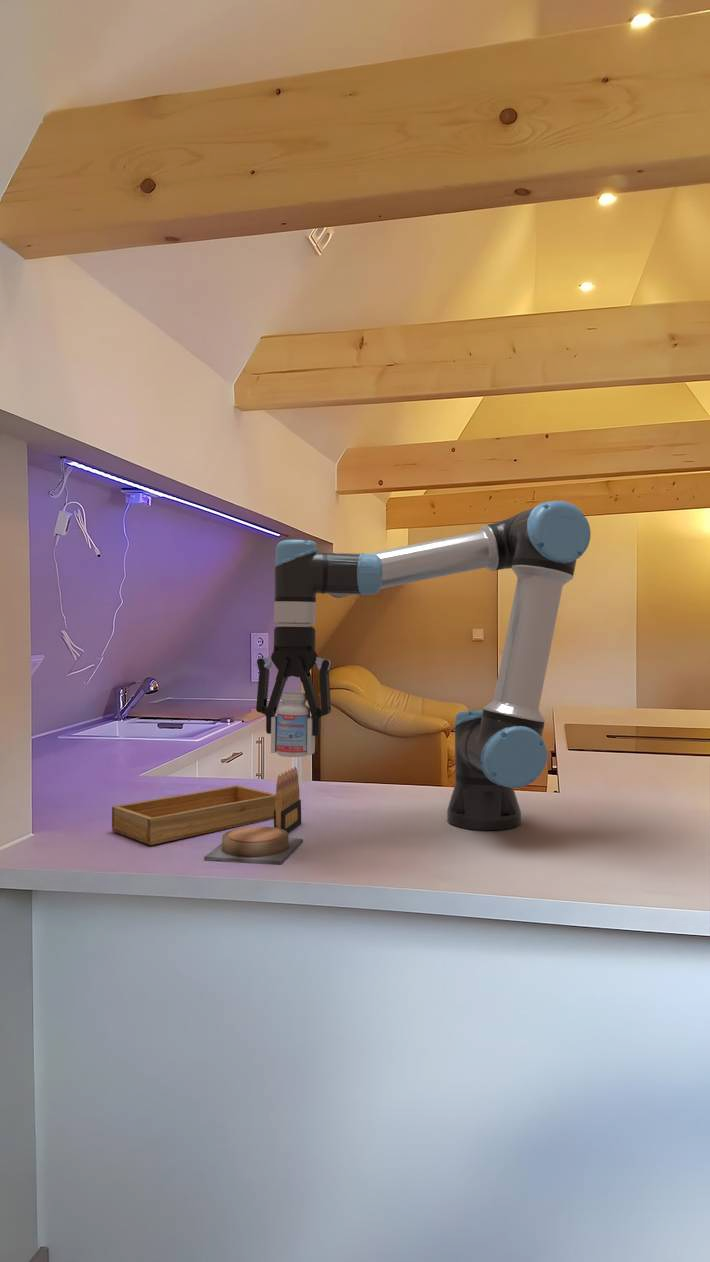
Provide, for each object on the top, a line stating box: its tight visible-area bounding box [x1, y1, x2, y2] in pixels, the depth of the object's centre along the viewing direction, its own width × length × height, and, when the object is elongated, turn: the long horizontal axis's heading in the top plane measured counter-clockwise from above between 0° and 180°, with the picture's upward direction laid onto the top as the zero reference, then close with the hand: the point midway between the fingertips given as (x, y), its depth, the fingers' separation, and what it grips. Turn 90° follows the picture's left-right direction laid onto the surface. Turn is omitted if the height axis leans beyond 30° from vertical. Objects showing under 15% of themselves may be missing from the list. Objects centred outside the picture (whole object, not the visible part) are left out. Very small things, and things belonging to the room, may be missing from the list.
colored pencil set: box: [273, 766, 302, 834], centre depth 156 cm, size 11×2×12 cm, turn 164°
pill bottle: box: [276, 691, 311, 758], centre depth 141 cm, size 6×6×11 cm
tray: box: [111, 785, 276, 846], centre depth 160 cm, size 31×15×6 cm, turn 134°
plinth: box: [203, 826, 304, 865], centre depth 142 cm, size 14×14×3 cm
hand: (292, 752), depth 141 cm, fingers closed on pill bottle, 6 cm apart
